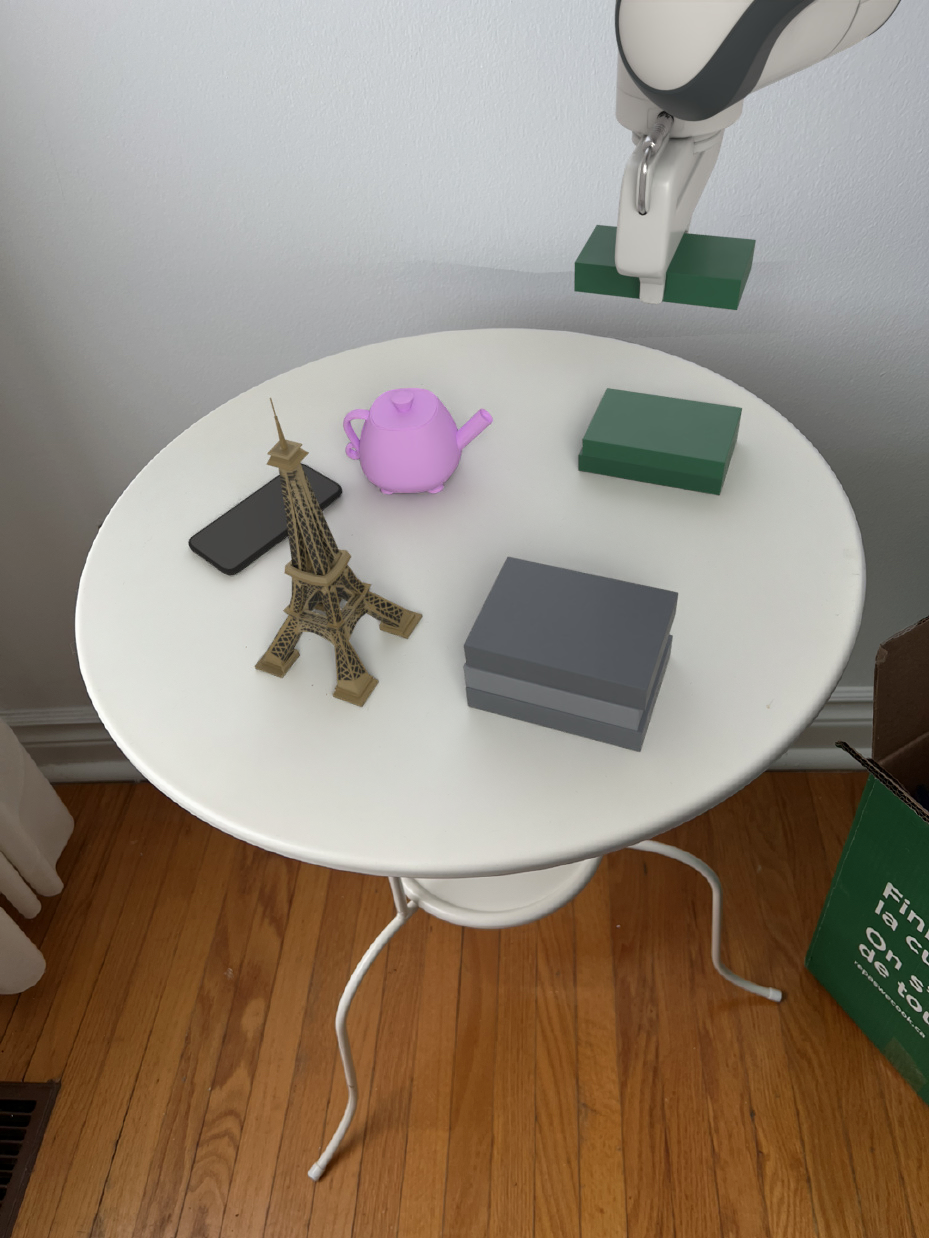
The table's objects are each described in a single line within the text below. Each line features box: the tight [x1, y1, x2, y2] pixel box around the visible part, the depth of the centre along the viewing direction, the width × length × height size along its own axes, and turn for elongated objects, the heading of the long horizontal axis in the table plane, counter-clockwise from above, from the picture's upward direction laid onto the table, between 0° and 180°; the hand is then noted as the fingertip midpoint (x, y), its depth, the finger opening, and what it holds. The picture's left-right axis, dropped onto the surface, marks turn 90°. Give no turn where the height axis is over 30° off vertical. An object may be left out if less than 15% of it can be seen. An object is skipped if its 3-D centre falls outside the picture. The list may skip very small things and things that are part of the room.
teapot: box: [342, 387, 494, 495], centre depth 90 cm, size 10×15×9 cm
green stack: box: [577, 387, 743, 496], centre depth 91 cm, size 14×9×4 cm, turn 69°
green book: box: [573, 224, 757, 311], centre depth 74 cm, size 13×6×2 cm, turn 69°
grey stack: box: [462, 556, 679, 753], centre depth 72 cm, size 14×10×8 cm
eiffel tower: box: [254, 397, 423, 708], centre depth 70 cm, size 11×11×25 cm
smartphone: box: [187, 462, 343, 576], centre depth 90 cm, size 7×1×15 cm
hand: (663, 274), depth 74 cm, fingers closed on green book, 6 cm apart
